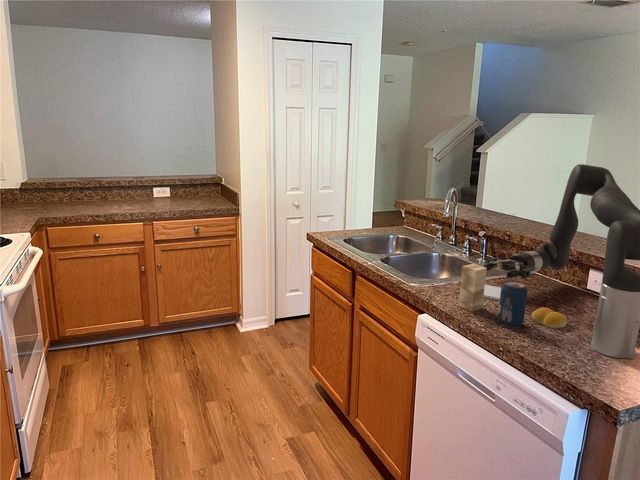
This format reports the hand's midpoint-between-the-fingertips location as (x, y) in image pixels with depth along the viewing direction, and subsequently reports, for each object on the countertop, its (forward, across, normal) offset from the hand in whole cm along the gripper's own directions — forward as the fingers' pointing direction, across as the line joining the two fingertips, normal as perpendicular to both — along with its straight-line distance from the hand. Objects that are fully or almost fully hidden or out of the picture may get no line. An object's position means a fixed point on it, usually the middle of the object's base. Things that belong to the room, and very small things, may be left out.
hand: (495, 271), depth 151 cm
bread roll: (+1, +20, +10) cm, 22 cm away
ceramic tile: (-5, -5, +10) cm, 12 cm away
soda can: (+12, +15, +10) cm, 21 cm away
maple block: (+12, 0, +10) cm, 15 cm away
